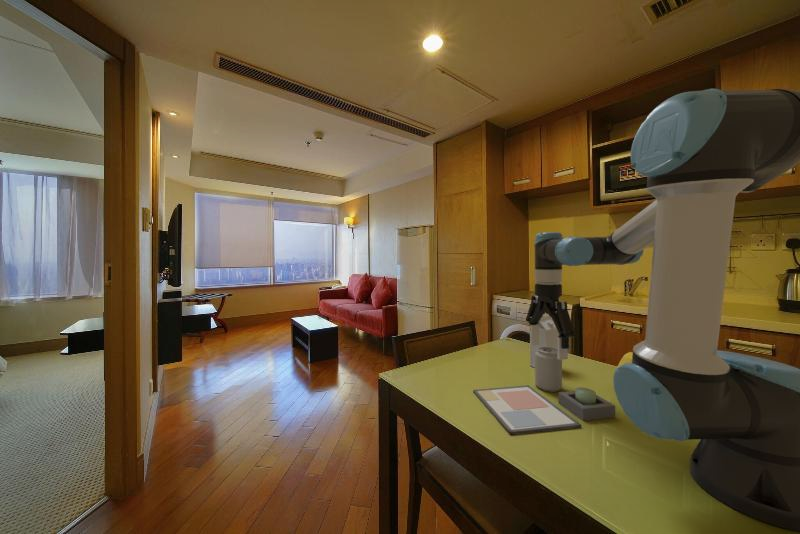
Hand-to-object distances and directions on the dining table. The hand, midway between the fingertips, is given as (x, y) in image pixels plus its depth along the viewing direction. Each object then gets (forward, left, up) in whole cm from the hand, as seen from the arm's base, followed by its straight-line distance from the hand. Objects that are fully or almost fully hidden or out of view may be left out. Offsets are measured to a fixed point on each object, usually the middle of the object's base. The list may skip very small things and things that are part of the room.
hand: (547, 351), depth 92 cm
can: (0, 0, -11) cm, 11 cm away
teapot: (-10, -23, -12) cm, 28 cm away
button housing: (-14, -1, -11) cm, 18 cm away
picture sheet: (-10, +15, -11) cm, 21 cm away
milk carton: (+15, -9, -11) cm, 21 cm away
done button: (-14, -1, -10) cm, 17 cm away
